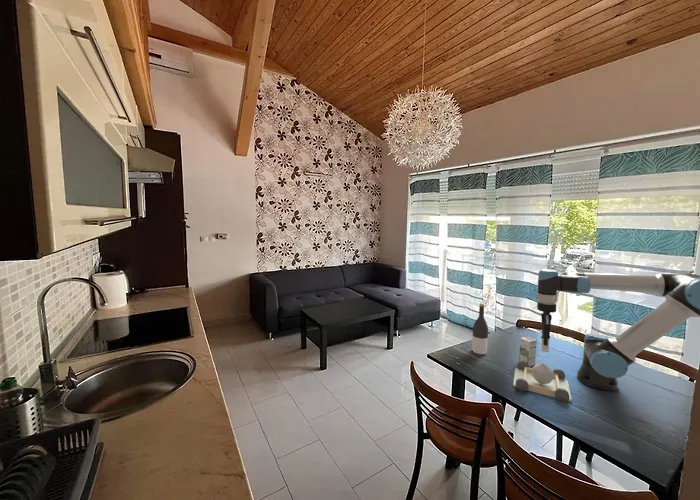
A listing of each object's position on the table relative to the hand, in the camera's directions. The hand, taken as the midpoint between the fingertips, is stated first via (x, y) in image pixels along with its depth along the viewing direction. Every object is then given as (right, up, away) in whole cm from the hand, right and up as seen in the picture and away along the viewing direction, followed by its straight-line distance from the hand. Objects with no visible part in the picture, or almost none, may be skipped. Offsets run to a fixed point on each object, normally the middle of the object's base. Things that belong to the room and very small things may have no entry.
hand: (545, 351), depth 142 cm
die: (-3, -15, -3) cm, 15 cm away
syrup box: (+3, -14, +19) cm, 24 cm away
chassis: (-3, -16, -1) cm, 16 cm away
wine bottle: (-18, -13, +32) cm, 38 cm away
